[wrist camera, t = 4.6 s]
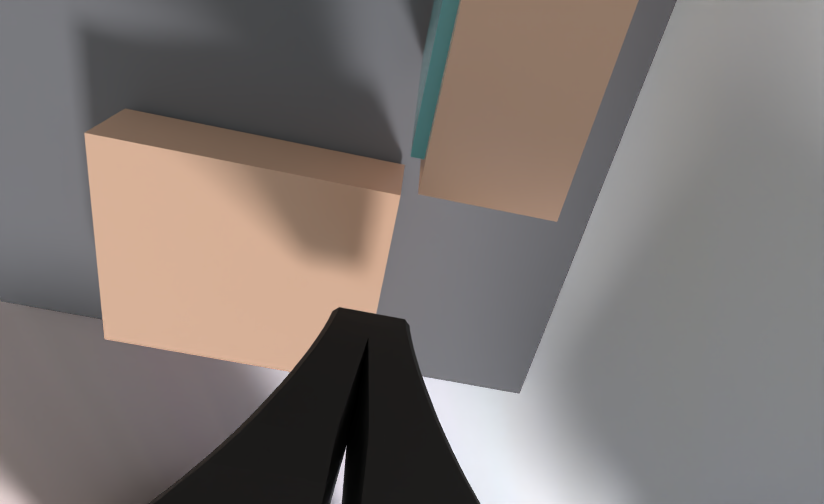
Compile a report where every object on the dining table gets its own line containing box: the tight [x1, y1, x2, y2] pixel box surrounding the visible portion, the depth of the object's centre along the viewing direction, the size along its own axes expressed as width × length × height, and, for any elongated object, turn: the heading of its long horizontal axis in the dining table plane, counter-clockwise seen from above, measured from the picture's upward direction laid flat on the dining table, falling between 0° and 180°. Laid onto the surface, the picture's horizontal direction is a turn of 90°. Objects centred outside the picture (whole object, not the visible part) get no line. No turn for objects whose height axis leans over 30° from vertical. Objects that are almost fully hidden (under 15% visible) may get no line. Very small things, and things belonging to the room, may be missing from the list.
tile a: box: [84, 109, 405, 372], centre depth 13 cm, size 2×5×6 cm
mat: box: [0, 0, 677, 393], centre depth 12 cm, size 14×14×1 cm
